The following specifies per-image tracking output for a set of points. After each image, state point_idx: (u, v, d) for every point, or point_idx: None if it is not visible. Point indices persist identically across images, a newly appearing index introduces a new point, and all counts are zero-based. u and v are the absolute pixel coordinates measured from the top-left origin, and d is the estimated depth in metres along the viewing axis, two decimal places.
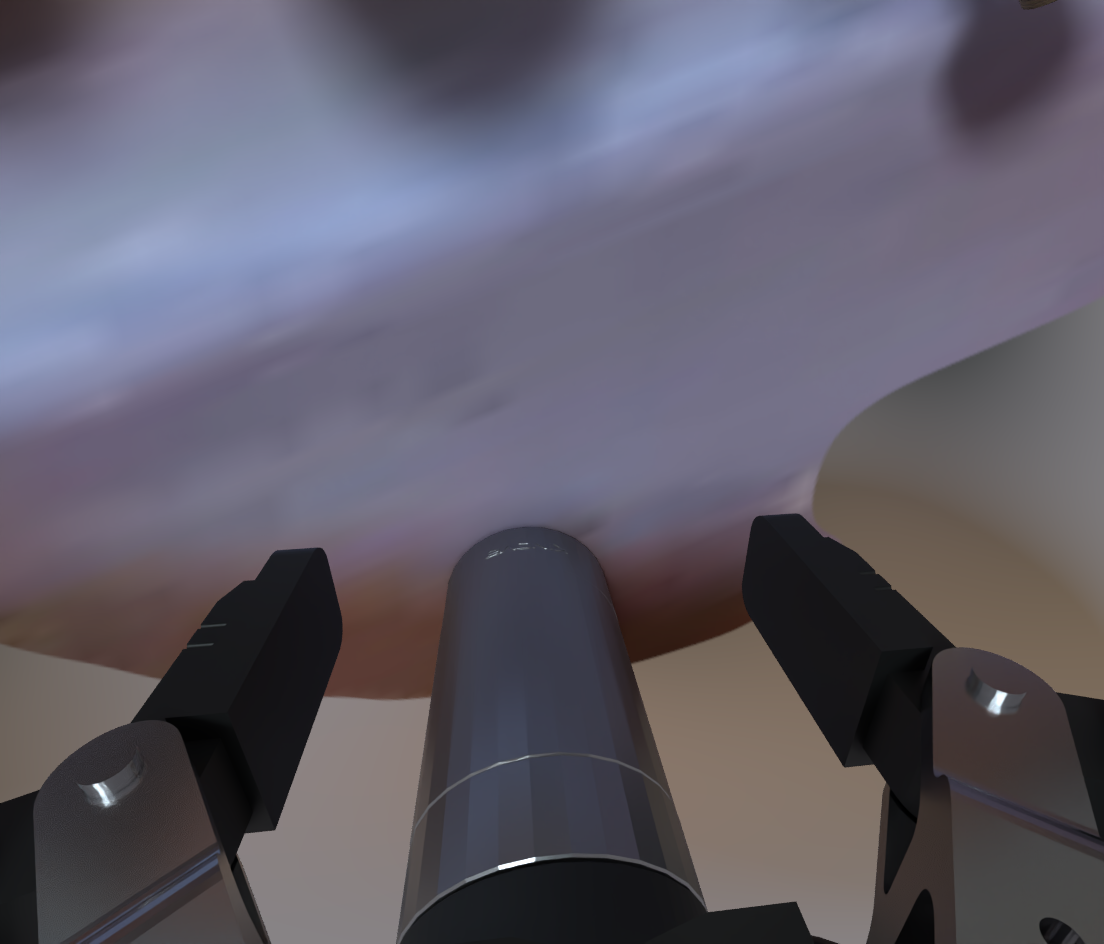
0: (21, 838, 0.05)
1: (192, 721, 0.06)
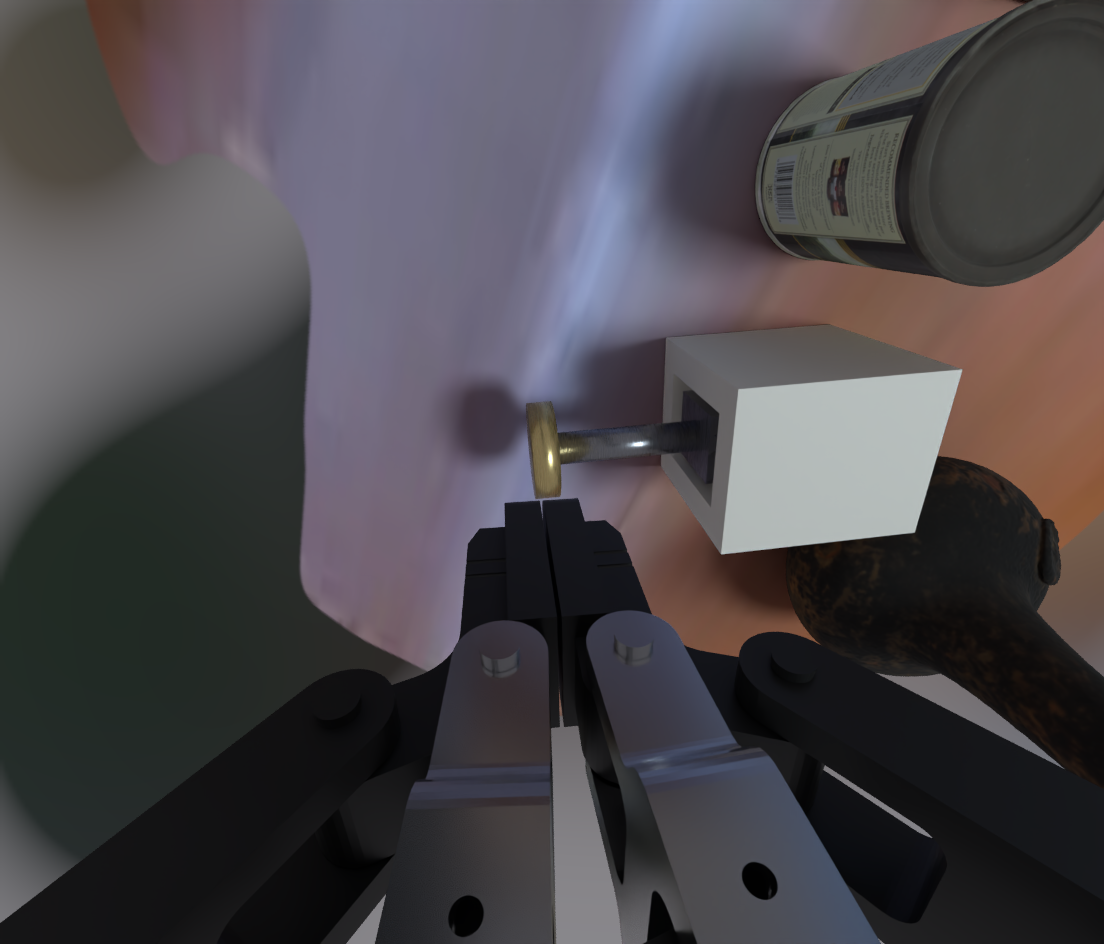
0: (433, 705, 0.07)
1: (528, 624, 0.07)
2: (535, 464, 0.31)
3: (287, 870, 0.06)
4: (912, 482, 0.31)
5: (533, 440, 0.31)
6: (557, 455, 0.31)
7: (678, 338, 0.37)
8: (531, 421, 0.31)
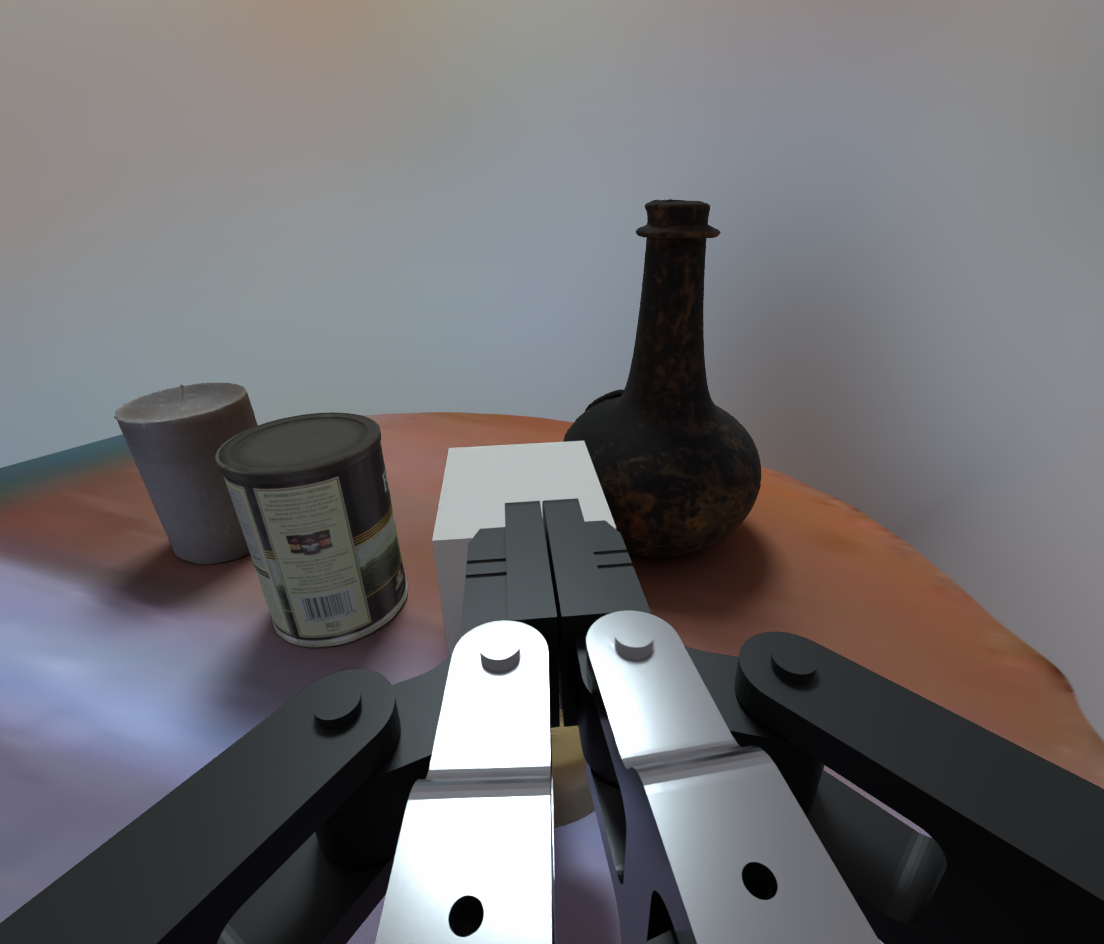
0: (433, 705, 0.07)
1: (528, 624, 0.07)
2: None
3: (286, 870, 0.06)
4: (538, 449, 0.39)
5: None
6: None
7: None
8: None
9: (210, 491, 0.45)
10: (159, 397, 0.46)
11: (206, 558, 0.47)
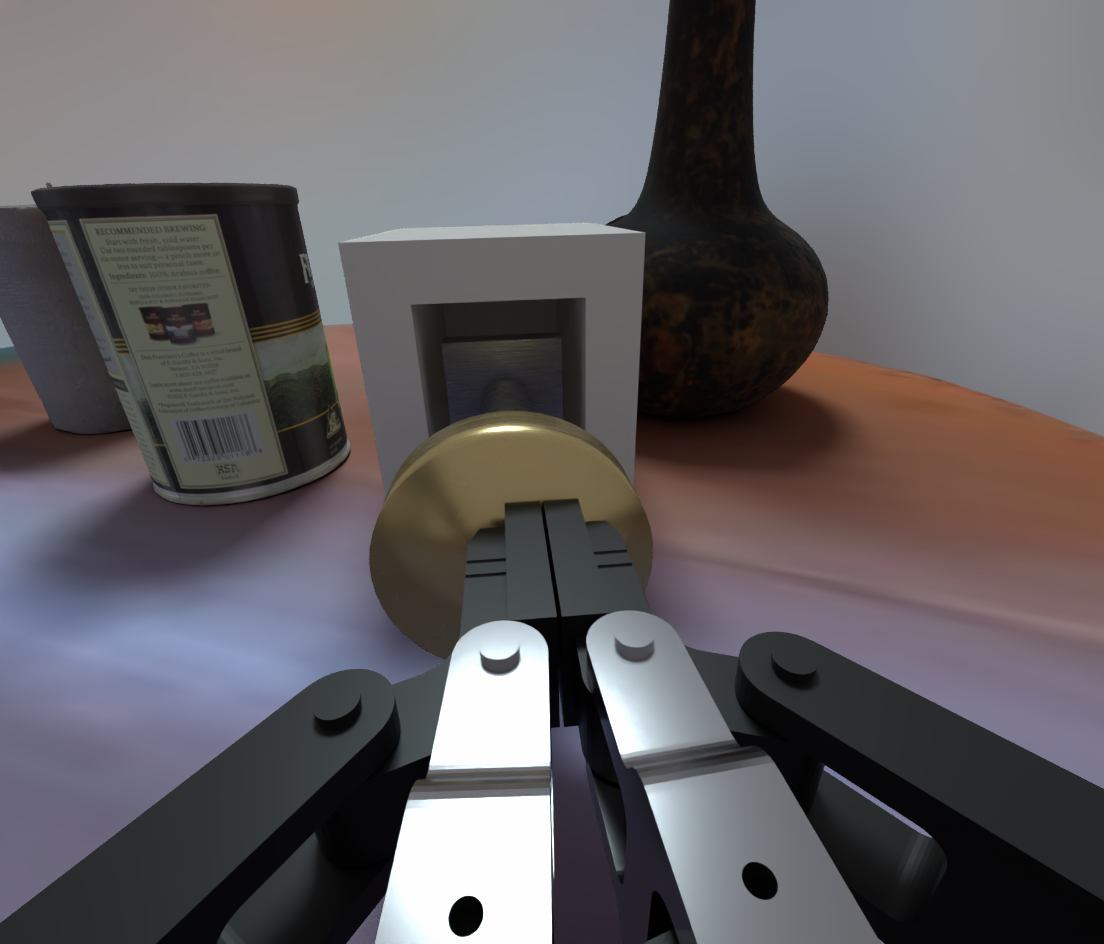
0: (433, 705, 0.07)
1: (527, 624, 0.07)
2: (480, 440, 0.10)
3: (286, 870, 0.06)
4: (524, 225, 0.27)
5: (416, 469, 0.10)
6: (464, 421, 0.11)
7: None
8: None
9: (86, 324, 0.33)
10: None
11: (89, 425, 0.36)
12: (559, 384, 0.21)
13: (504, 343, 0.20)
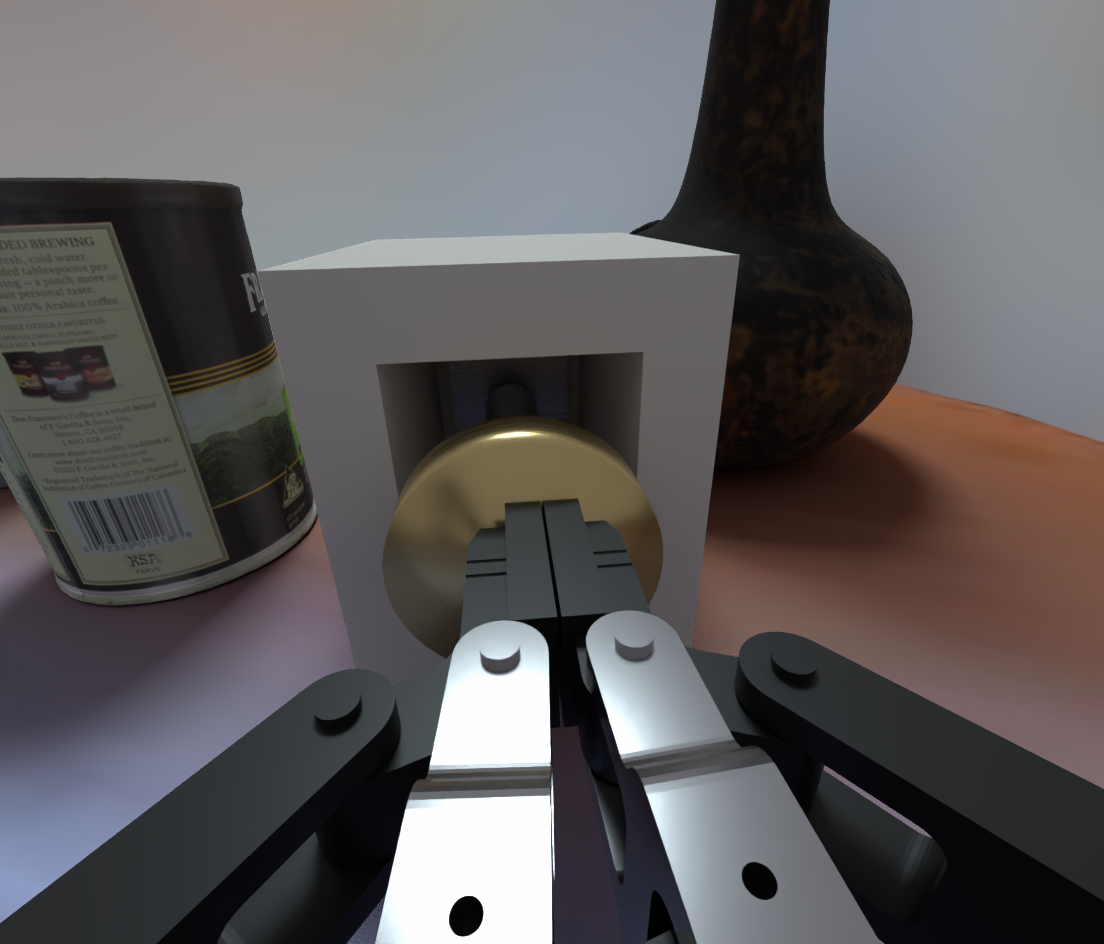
0: (433, 705, 0.07)
1: (528, 624, 0.07)
2: (494, 445, 0.10)
3: (287, 870, 0.06)
4: (538, 236, 0.21)
5: (430, 474, 0.10)
6: (476, 427, 0.11)
7: None
8: (393, 515, 0.11)
9: None
10: None
11: (0, 477, 0.29)
12: (564, 388, 0.21)
13: None
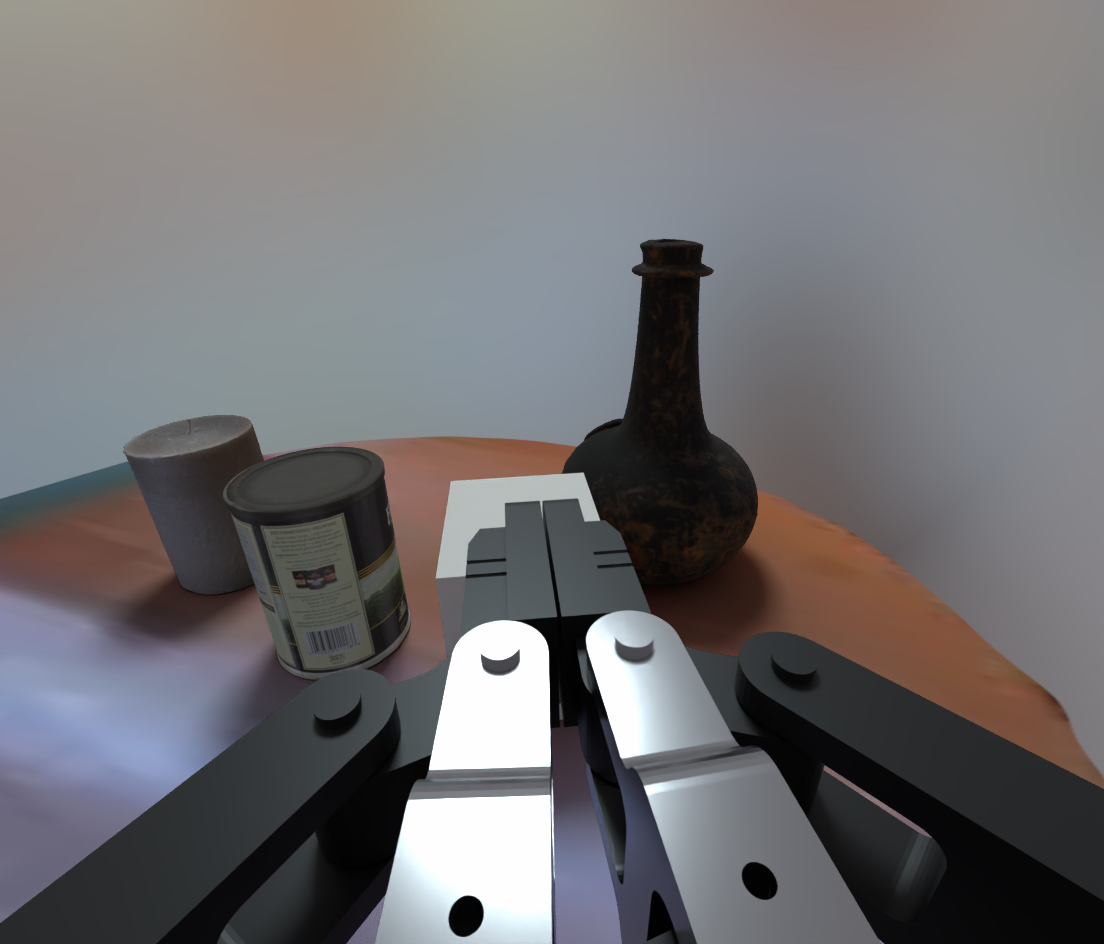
0: (433, 705, 0.07)
1: (527, 623, 0.07)
2: None
3: (287, 870, 0.06)
4: (538, 481, 0.40)
5: None
6: None
7: None
8: None
9: (216, 523, 0.45)
10: (167, 431, 0.47)
11: (211, 589, 0.48)
12: None
13: None
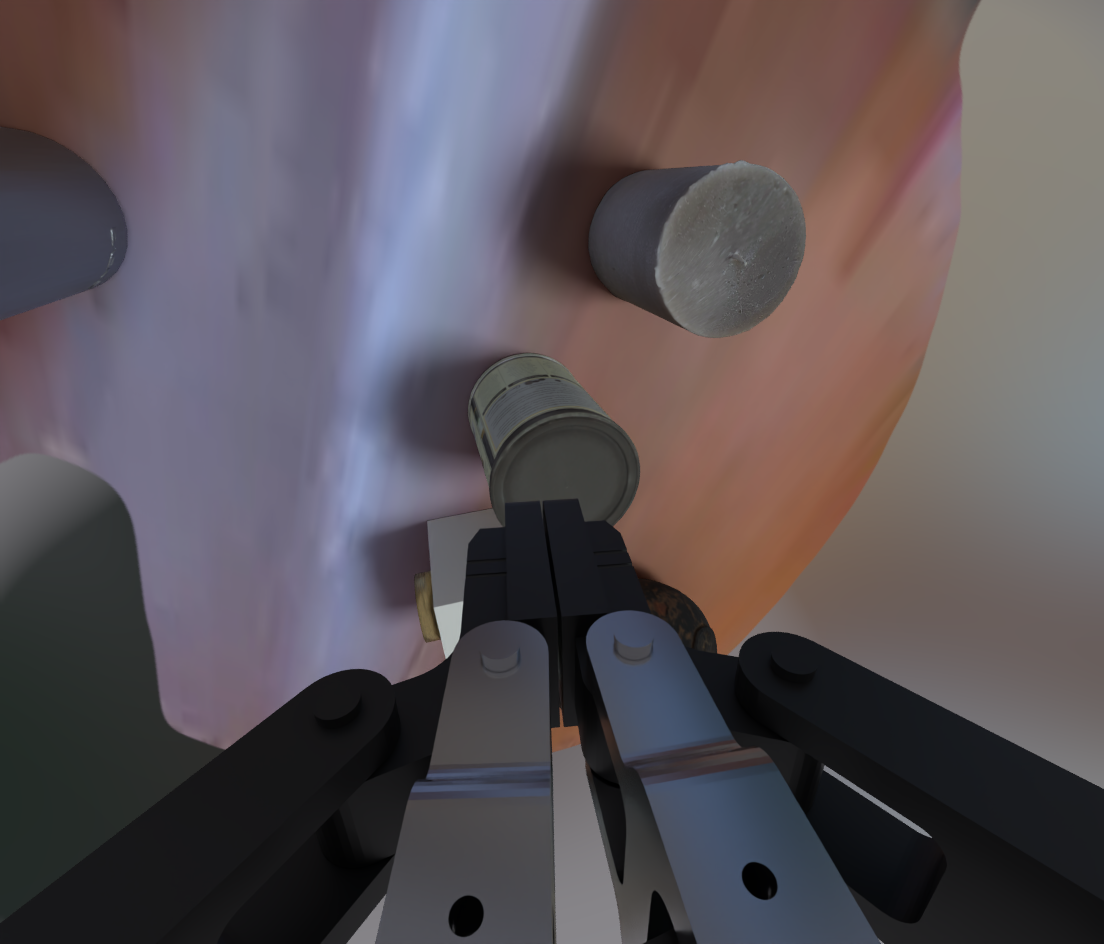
0: (433, 705, 0.07)
1: (528, 624, 0.07)
2: (421, 627, 0.45)
3: (288, 870, 0.06)
4: None
5: (418, 611, 0.45)
6: None
7: (435, 522, 0.50)
8: (416, 597, 0.45)
9: (624, 284, 0.37)
10: (752, 210, 0.30)
11: (590, 245, 0.42)
12: None
13: None
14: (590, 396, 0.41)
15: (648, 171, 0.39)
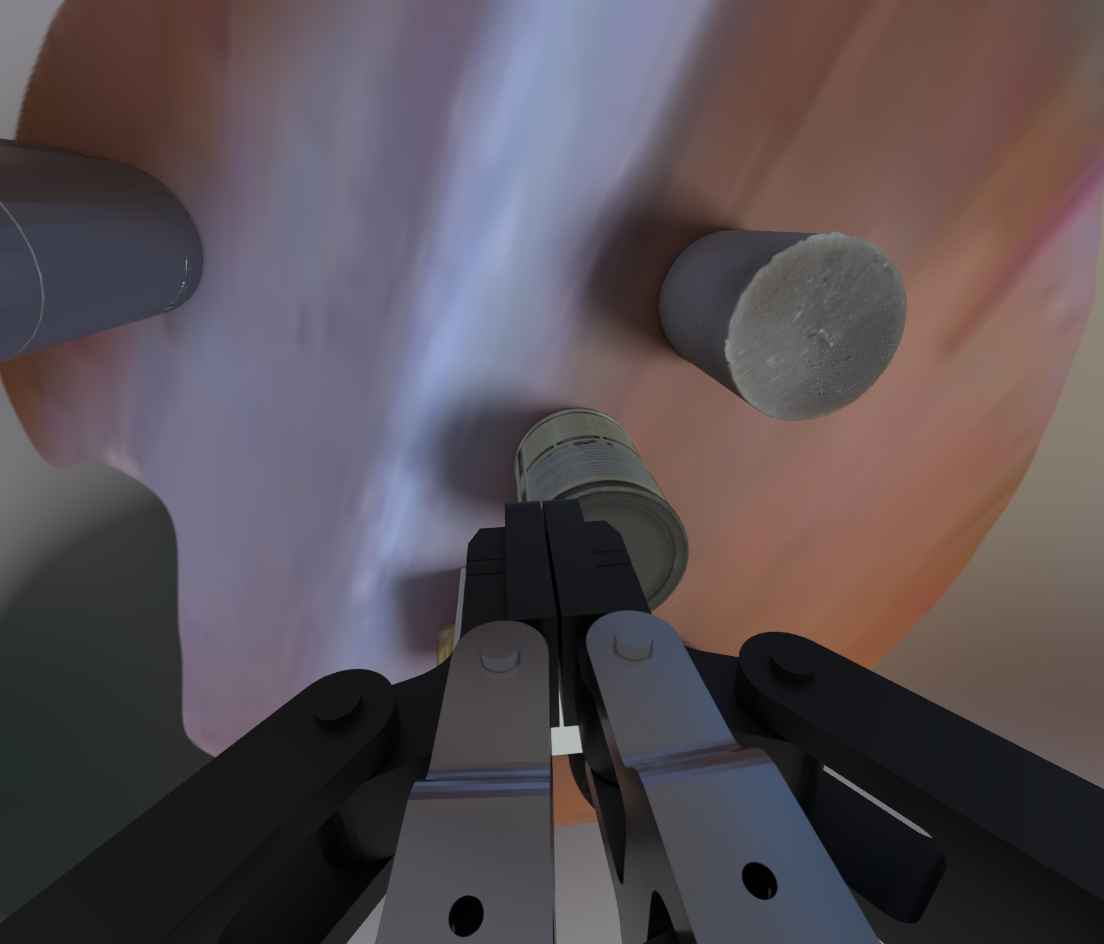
0: (433, 705, 0.07)
1: (528, 623, 0.07)
2: None
3: (287, 870, 0.06)
4: None
5: None
6: None
7: None
8: (438, 651, 0.43)
9: (692, 350, 0.34)
10: (844, 286, 0.27)
11: (660, 303, 0.39)
12: None
13: None
14: (643, 464, 0.37)
15: (731, 232, 0.36)
